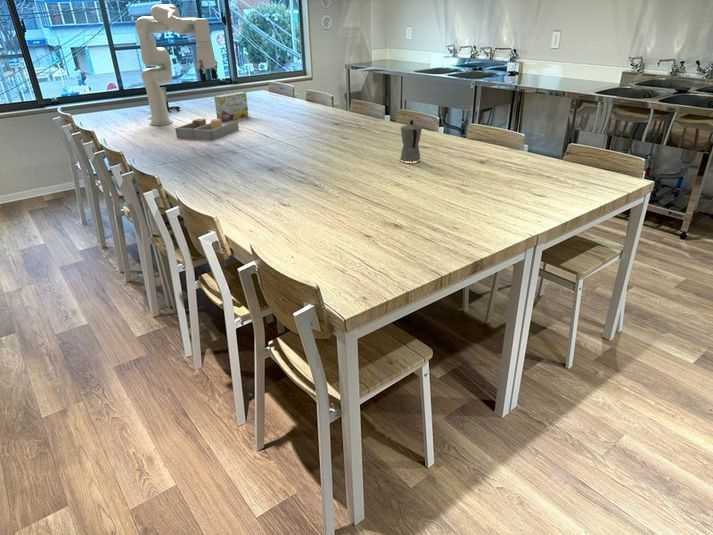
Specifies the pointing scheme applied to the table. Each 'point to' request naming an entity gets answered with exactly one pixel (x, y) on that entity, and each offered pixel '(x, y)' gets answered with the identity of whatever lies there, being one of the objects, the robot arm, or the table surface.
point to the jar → (215, 123)
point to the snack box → (231, 106)
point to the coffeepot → (410, 142)
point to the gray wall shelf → (205, 131)
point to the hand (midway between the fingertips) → (209, 80)
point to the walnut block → (198, 123)
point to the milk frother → (167, 101)
